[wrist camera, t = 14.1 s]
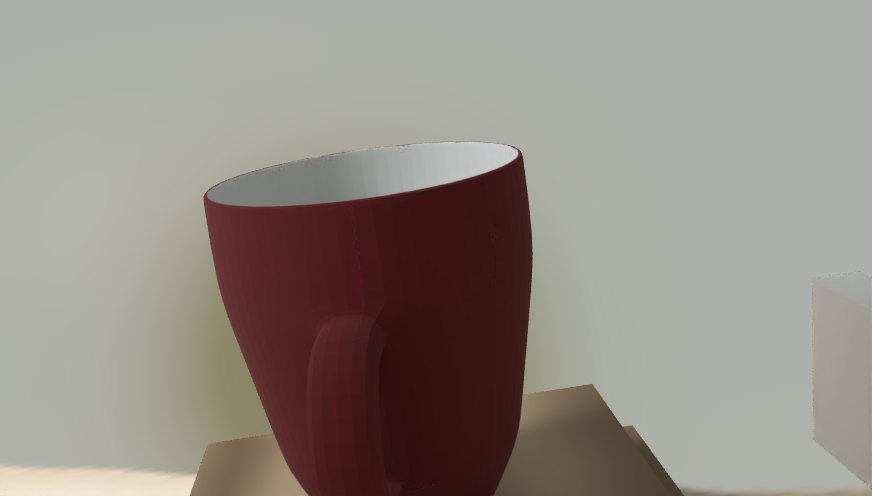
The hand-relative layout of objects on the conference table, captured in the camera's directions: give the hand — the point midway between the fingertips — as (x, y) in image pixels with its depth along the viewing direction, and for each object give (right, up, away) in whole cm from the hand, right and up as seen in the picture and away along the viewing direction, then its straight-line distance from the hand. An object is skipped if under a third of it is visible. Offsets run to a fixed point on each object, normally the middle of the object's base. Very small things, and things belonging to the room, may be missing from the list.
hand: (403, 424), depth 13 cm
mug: (0, -5, +10) cm, 11 cm away
